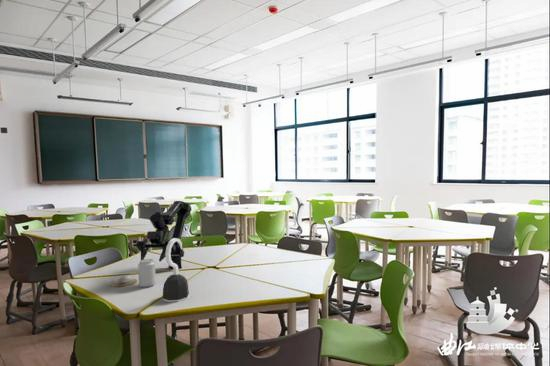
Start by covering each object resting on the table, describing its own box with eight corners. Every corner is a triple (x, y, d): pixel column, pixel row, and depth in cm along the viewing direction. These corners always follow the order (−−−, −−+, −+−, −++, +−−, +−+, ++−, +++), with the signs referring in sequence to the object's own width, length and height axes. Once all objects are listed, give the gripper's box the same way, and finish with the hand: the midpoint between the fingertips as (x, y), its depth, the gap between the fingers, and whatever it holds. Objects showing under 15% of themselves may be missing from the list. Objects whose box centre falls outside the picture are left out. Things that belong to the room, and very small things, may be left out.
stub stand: (137, 278, 177) (137, 273, 177) (136, 285, 165) (135, 280, 165) (111, 281, 173) (111, 276, 173) (108, 288, 162) (107, 283, 162)
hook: (172, 292, 155) (170, 235, 155) (194, 294, 152) (193, 236, 151) (156, 300, 144) (154, 240, 144) (179, 303, 141) (178, 241, 140)
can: (139, 289, 160) (139, 262, 160) (137, 284, 167) (137, 259, 166) (156, 286, 163) (156, 260, 163) (154, 282, 170) (153, 257, 170)
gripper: (137, 224, 175) (125, 251, 164) (173, 224, 173) (163, 251, 162) (145, 237, 183) (134, 264, 172) (179, 238, 181) (171, 264, 170)
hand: (150, 260), depth 169 cm, fingers open, 9 cm apart
